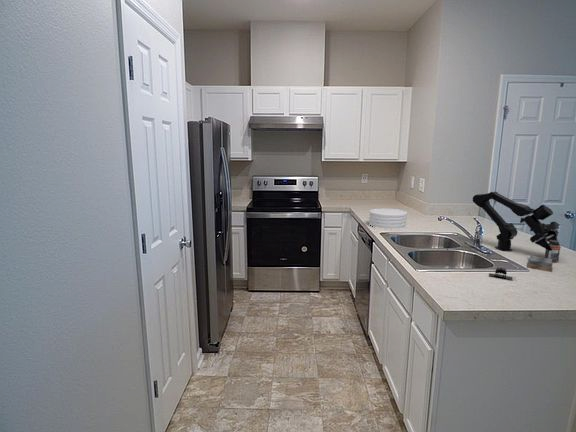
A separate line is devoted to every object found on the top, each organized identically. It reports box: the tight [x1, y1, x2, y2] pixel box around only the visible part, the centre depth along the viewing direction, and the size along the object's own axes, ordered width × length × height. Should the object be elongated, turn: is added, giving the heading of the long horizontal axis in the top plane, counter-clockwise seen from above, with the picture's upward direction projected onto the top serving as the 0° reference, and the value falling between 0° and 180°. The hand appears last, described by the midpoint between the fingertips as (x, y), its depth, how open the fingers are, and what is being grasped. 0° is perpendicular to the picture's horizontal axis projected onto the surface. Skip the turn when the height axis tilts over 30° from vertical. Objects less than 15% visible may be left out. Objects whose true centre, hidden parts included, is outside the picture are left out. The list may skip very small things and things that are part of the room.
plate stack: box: [368, 207, 408, 230], centre depth 258 cm, size 28×28×12 cm
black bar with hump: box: [488, 266, 514, 282], centre depth 155 cm, size 12×7×5 cm, turn 56°
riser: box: [526, 255, 554, 273], centre depth 168 cm, size 10×10×4 cm
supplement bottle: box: [543, 240, 561, 263], centre depth 176 cm, size 6×6×11 cm
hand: (555, 249), depth 175 cm, fingers open, 9 cm apart
